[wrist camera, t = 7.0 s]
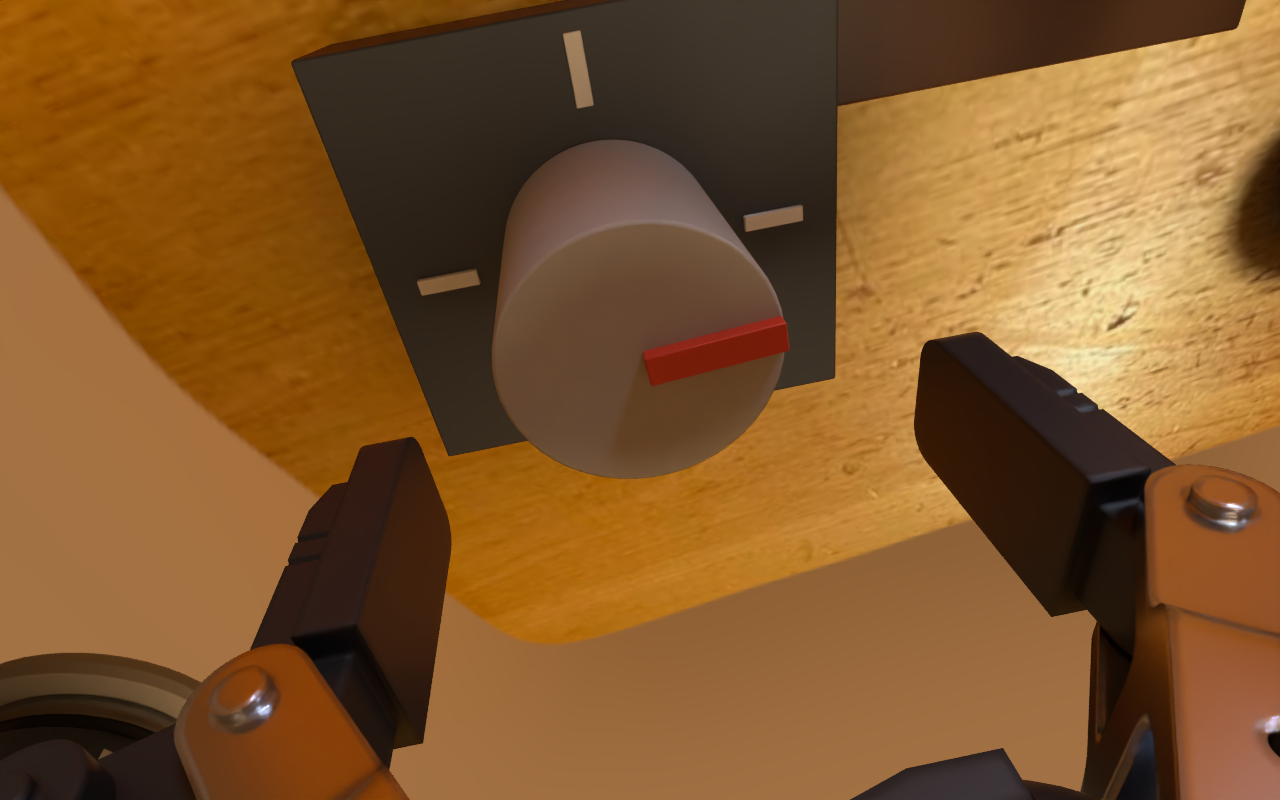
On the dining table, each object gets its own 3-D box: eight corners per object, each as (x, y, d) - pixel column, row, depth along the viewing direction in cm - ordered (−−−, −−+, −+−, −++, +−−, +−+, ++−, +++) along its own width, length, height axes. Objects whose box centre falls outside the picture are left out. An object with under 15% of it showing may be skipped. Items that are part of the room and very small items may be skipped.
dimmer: (541, 364, 17) (543, 518, 13) (472, 171, 15) (441, 276, 10) (729, 315, 17) (804, 451, 13) (696, 112, 15) (775, 188, 10)
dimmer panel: (458, 399, 21) (447, 461, 19) (327, 44, 16) (286, 62, 13) (801, 330, 21) (837, 382, 19) (792, -43, 16) (842, -43, 13)
